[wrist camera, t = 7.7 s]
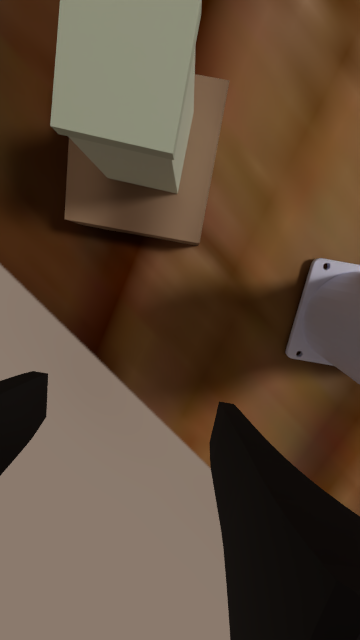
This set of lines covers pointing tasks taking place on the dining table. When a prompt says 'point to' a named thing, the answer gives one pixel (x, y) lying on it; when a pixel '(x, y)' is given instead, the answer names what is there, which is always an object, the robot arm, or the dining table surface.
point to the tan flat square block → (148, 203)
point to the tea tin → (127, 85)
